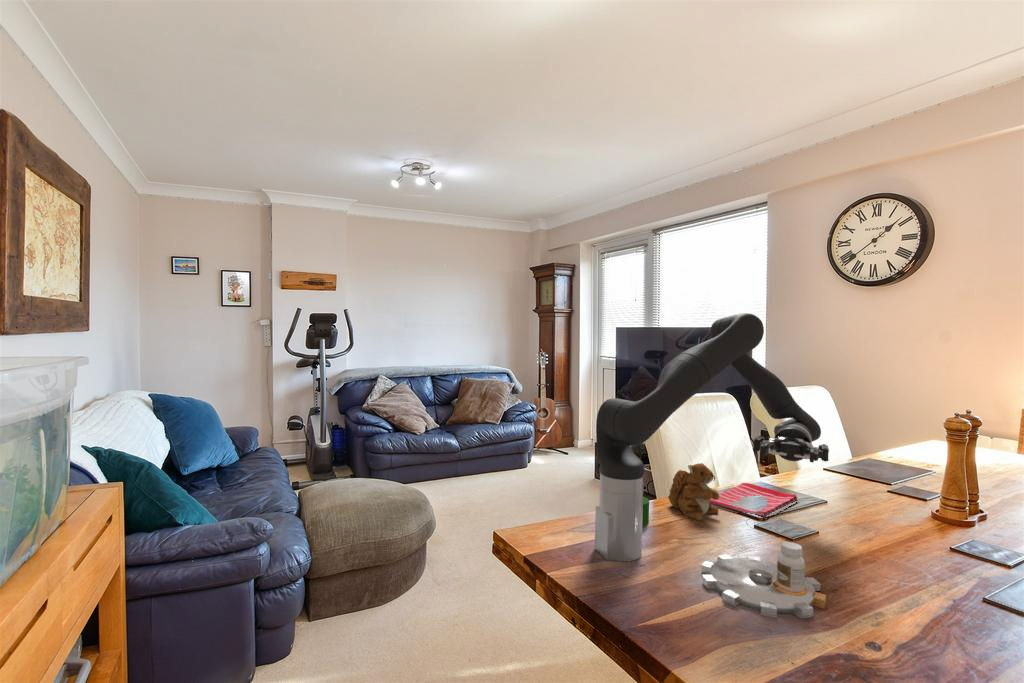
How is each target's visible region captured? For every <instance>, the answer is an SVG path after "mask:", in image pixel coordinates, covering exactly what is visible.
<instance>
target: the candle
mask: <svg viewBox="0 0 1024 683" xmlns="http://www.w3.org/2000/svg"><path fill="white" fill-rule="evenodd" d="M649 522H650V500H649V498H647V497H646V496H643V518H642V527H646V526H647V524H648V525H649ZM645 525H646V526H645Z"/></svg>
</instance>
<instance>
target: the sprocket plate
mask: <svg viewBox="0 0 1024 683" xmlns="http://www.w3.org/2000/svg"><path fill="white" fill-rule="evenodd" d="M700 571H701V573H702V575H701V576H702V578H701V579H702V580H701V582H702V583H701V584H703V586H704V587H705V588H706V589H707V590H716V591H717V592H718V593H720V594H721V595H722V596H721V601H723V602H724V603H726V604H728V605H731V606H733V607H737V606H738V605H741V606H744V607H747V608H751V609H754V610H759V613H760V616H764V617H769V618H774V619H777V616H778V614H794V615H795V616H797V617H799V618H800V619H806V618H812V617H814V607H816V606H817V607H816V608H820V609H823V610H824V609H825V608H826V604H827V594H823V593H821V583H820V582H819V581H818V580H817V579H815V577H807V576H804V589H803V591H801V592H790V591H787V590H785V589H783V588H781V587H780V586H779V585H778V584H777V563H775V562H774V563H773V562H769V561H766V560H762V558H761V557H760V556H757V555H750V554H747V556H746V557H732V556H730V555H728V554H723V555H722V554H720V555H717V558H716V561H715V562H710V561H707V560H705V561H704V562H703V563H702V564H701V570H700ZM815 591H820V592H815ZM813 605H814V606H813Z"/></svg>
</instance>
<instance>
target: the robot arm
mask: <svg viewBox="0 0 1024 683" xmlns="http://www.w3.org/2000/svg"><path fill="white" fill-rule="evenodd" d="M764 333H765V328H764V324H763V321H762V320H761V319H760V318H759V317H758V316H757V315H755V314H753V313H748V312H741V313H736V314H732V315H729V316H724V317H721V318H718V319H717V320H714V322H712V324H711V327H710V332H709V335H710V338H711V339H708V340H706V341H703V342H701V343H699V344H696V345H694V346H692V347H690V348H688V349H686V350H684V351H683V352H681V353H679V354H678V355H676V356H675V357H673V359H671V360H670V361H669V362H668V363H666V365H665V366H664V367H663V368H662V370H661V371H660V374H659V378H658V382H657V386H656V388H655V389H653V390H652V391H651V392H650V393H649V394H647V395H646V396H645V397H643V398H641V399H639V400H636V401H633V400H628V399H621V398H617V397H616V398H613V397H612V398H609V399H606V400H605V401H603V403H601V406H599V408H598V412H597V414H596V423H595V424H596V425H595V434H596V436H595V438H596V457H597V461H598V464H599V468H600V469H599V501H598V502H599V504H598V505H596V506H595V520H594V521H595V523H594V525H595V526H594V550H596V551H597V552H598V553H599V554H600V555H601V556H602V557H603V558H604V559H605V561H618V562H631V561H632V562H633V561H637V560H638V559H640V558H641V557H642V554H643V552H642V551H643V550H642V548H643V542H642V541H643V526H642V518H643V497H644V475H645V474H644V472H645V471H644V470H645V466H644V463H643V461H642V460H641V459H640V458H639V457H638V456H637V455H636V453H635V452H634V451H633V450H632V448H631V446H639V445H642V444H643V443H645V442H646V441H648V440H649V439H650V438H651V437H652V436H653V435H654V434H655V433H656V432H657V431H658V429H659V428H661V426H663V424H664V423H665V422H666V421H667V420H668V419H670V417H671V416H672V414H674V413H675V412H676V411H677V410H679V408H680V407H682V406H683V405H684V404H685V403H686V402H687V401H688V400H690V399H691V398H692V397H694V396H695V395H696V394H698V393H699V392H700V391H701V390H702V389H703V388H705V386H708V384H709V383H710V382H711V381H713V380H714V379H715V378H716V377H717V376H718V375H719V374H721V373H722V372H723V371H724V370H726V368H728V366H730V365H731V366H732V367H733V369H735V371H736V372H737V374H739V375H740V376H741V377H742V378H743V379H744V380H745V381H746V382H745V383H747V384H748V386H749V387H750V388H751V389H752V390H753V392H754V393H755V395H756V397H757V398H758V400H759V401H760V402H761V404H762V406H763V407H764V409H765V411H766V412H767V414H768V415H769V416H770V417H771V418H773V419H775V420H783V419H784V420H785V419H787V420H785V421H782V422H780V423H778V424H776V425H774V430H773V432H774V437H771V438H770V437H769V439H768V440H767V439H765V437H764V436H762V435H757V436H756V437H755V438H754V439H753V443H752V446H753V447H752V451H754V452H759V453H761V454H762V456H765V457H766V456H768V454H770V455H773V456H777V455H778V456H779V457H780V458H782V459H783V460H785V461H788V462H799V461H803V460H809V463H813V464H814V461H815V462H818V461H819V459H820V460H821V461H823V462H829V452H830V449H829V446H828V445H827V444H825V443H823V444H818V447H817V446H814V445H813V442H815V441H817V440H819V439H820V437H821V434H822V428H821V426H820V425H819V423H818V422H817V421H816V420H815V418H814V417H812V416H811V414H809V413H808V412H807V411H806V410H804V409H803V408H802V407H801V406H800V405H799V404H798V403H797V402H796V400H795V399H794V397H793V396H792V394H791V392H790V391H789V389H788V387H787V386H786V385H785V383H784V382H783V381H782V380H781V379H780V378H779V377H778V376H777V375H776V374H774V373H773V372H771V370H769V369H768V368H766V367H764V366H763V365H762V364H760V363H759V361H757V360H755V359H754V358H753V357H752V355H750V353H749V352H750V351H752V350H754V349H755V348H757V347H758V346H759V344H760V343H762V340H763V336H764Z"/></svg>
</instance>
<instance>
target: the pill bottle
mask: <svg viewBox="0 0 1024 683" xmlns="http://www.w3.org/2000/svg"><path fill="white" fill-rule="evenodd" d="M780 552H781V553H779V554H778V556H777V563H776V564H777V584H778V585H779V586H780V587H781V588H783V589H785V590H787V591H790V592H801V591H803V589H804V577H805V571H806V570H805V565H806V564H805V559H804V558H803V557H802V556H803V546H802V545H800V544H798V543H796V542H793V541H781V543H780Z"/></svg>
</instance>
